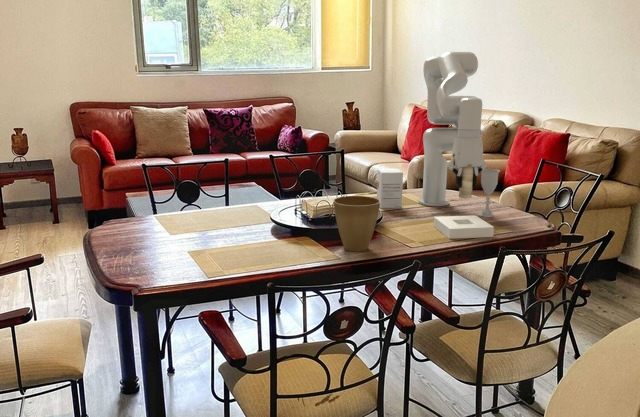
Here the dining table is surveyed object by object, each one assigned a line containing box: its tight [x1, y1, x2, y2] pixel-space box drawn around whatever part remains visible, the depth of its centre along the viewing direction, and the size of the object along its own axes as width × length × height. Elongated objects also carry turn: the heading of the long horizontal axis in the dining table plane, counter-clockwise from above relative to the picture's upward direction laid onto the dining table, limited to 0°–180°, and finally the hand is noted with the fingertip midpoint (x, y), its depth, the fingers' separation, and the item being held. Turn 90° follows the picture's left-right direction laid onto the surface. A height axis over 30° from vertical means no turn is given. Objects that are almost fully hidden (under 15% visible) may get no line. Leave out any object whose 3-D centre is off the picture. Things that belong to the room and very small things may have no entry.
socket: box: [433, 214, 495, 240], centre depth 223 cm, size 16×16×4 cm
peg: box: [458, 164, 474, 199], centre depth 218 cm, size 4×4×12 cm
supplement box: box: [376, 168, 404, 209], centre depth 257 cm, size 9×9×15 cm
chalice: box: [479, 167, 501, 218], centre depth 243 cm, size 7×7×18 cm
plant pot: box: [333, 195, 380, 252], centre depth 201 cm, size 15×15×16 cm
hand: (465, 186), depth 219 cm, fingers closed on peg, 4 cm apart
